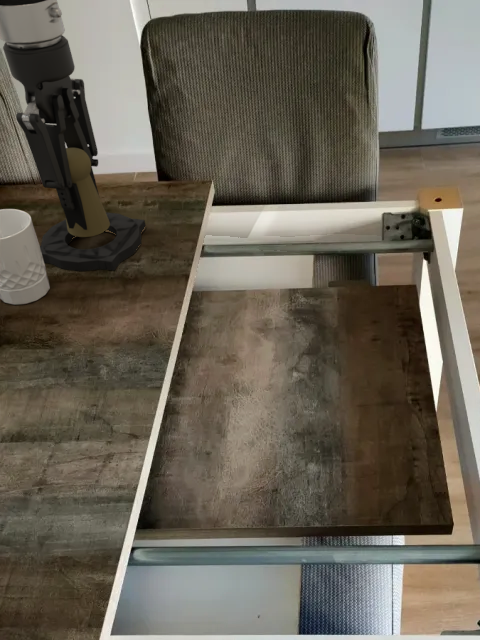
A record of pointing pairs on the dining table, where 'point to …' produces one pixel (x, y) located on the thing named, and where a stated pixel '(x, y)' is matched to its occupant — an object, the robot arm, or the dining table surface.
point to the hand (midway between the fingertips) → (86, 219)
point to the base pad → (96, 258)
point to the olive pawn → (86, 195)
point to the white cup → (20, 259)
